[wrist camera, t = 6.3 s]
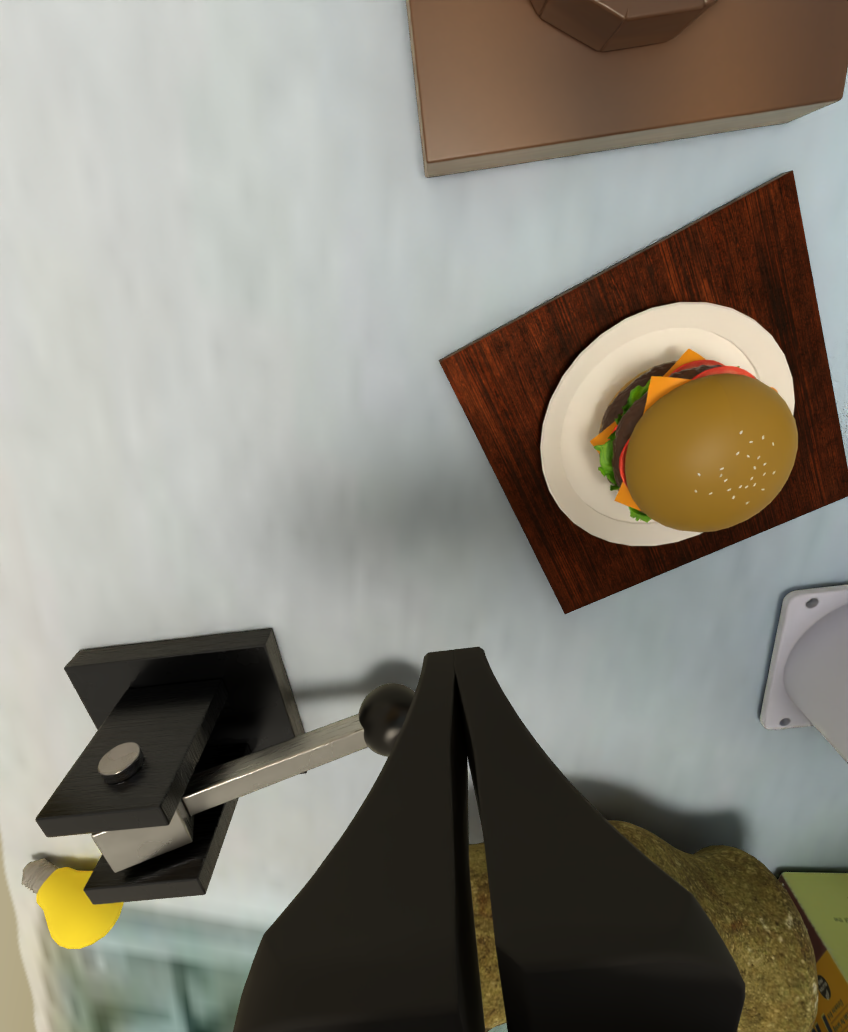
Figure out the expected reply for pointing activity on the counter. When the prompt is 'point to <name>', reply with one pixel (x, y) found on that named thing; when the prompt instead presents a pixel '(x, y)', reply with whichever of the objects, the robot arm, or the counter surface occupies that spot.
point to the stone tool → (732, 910)
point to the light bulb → (69, 904)
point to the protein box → (825, 940)
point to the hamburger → (663, 401)
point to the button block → (613, 73)
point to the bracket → (167, 748)
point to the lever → (264, 773)
